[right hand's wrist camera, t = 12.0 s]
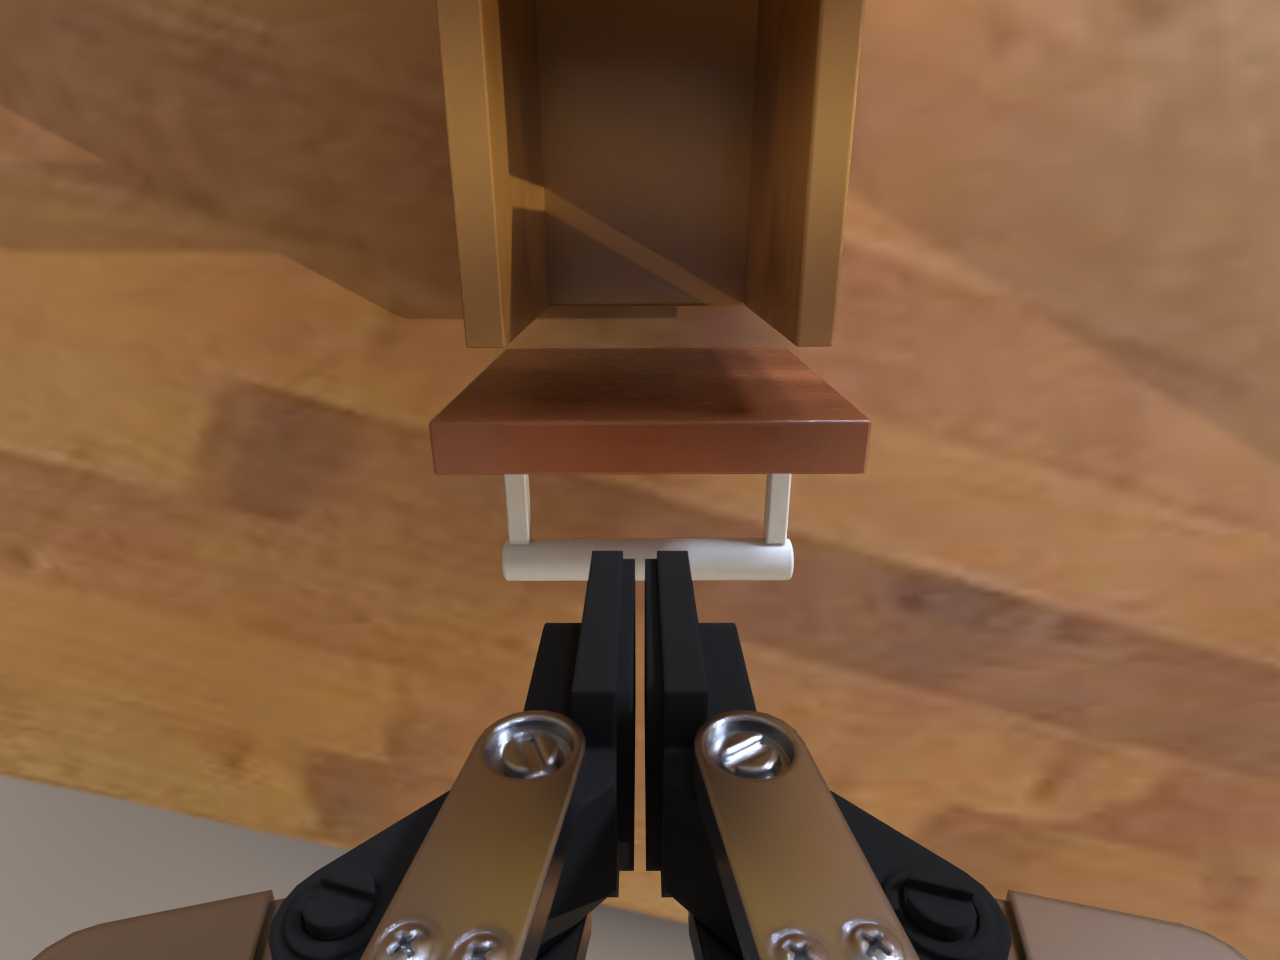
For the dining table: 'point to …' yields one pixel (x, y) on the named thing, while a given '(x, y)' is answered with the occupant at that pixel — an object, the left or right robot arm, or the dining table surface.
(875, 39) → the dining table surface
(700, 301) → the drawer
